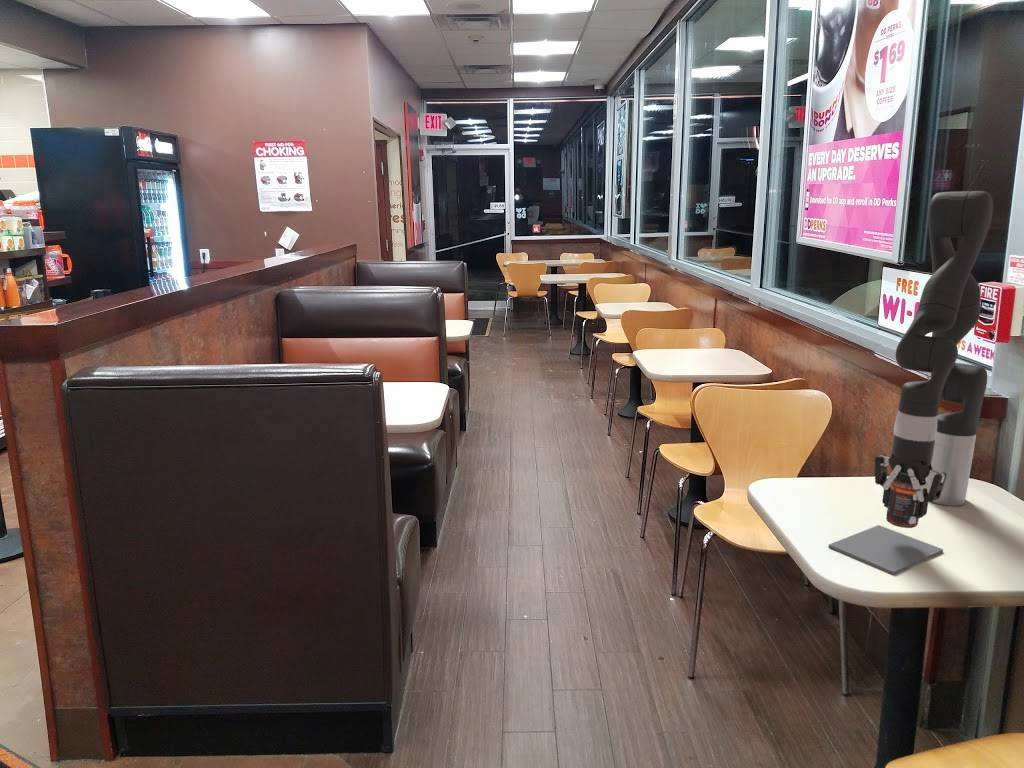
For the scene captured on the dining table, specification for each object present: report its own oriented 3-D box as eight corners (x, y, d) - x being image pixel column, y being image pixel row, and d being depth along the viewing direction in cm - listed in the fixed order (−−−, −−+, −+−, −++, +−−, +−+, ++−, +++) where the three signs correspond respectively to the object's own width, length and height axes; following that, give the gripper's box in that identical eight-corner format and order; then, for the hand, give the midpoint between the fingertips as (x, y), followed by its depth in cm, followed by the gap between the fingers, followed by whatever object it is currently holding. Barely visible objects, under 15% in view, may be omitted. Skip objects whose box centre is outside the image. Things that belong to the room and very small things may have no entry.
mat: (878, 527, 167) (878, 525, 167) (942, 552, 156) (943, 549, 156) (828, 547, 157) (828, 544, 157) (893, 574, 146) (893, 571, 146)
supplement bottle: (921, 530, 155) (929, 478, 152) (890, 527, 156) (897, 475, 153) (912, 519, 160) (920, 468, 158) (882, 516, 162) (889, 465, 159)
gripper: (960, 440, 150) (948, 520, 154) (890, 422, 161) (880, 496, 165) (940, 446, 146) (928, 528, 150) (870, 427, 157) (860, 503, 161)
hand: (903, 511), depth 158 cm, fingers closed on supplement bottle, 6 cm apart
